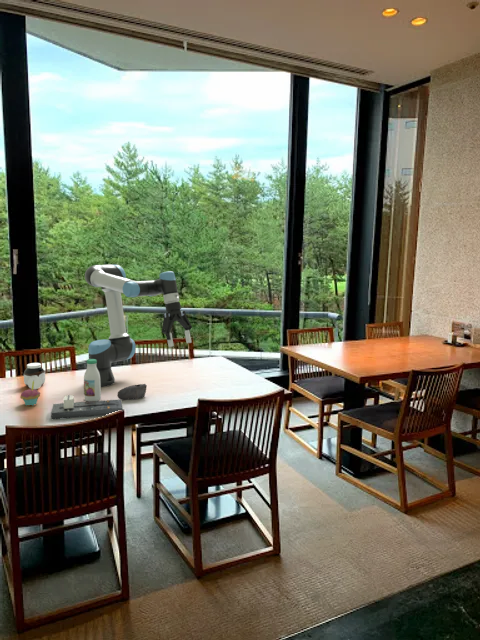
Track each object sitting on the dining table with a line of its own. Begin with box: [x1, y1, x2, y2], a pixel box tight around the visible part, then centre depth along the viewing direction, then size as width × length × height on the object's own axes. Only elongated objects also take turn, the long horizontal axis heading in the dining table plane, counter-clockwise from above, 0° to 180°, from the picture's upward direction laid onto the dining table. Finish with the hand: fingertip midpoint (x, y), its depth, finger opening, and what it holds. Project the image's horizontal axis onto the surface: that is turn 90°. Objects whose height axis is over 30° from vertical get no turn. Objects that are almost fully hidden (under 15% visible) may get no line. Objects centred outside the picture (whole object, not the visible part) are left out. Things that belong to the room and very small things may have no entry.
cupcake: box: [20, 381, 41, 406], centre depth 225 cm, size 9×8×12 cm
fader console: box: [50, 399, 123, 420], centre depth 217 cm, size 12×30×3 cm, turn 107°
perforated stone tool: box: [117, 383, 147, 401], centre depth 237 cm, size 15×5×7 cm, turn 115°
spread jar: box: [23, 362, 46, 390], centre depth 252 cm, size 12×11×12 cm
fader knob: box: [63, 394, 75, 409], centre depth 214 cm, size 6×4×4 cm, turn 17°
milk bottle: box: [83, 358, 102, 402], centre depth 233 cm, size 8×8×20 cm
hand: (180, 344), depth 237 cm, fingers open, 13 cm apart
